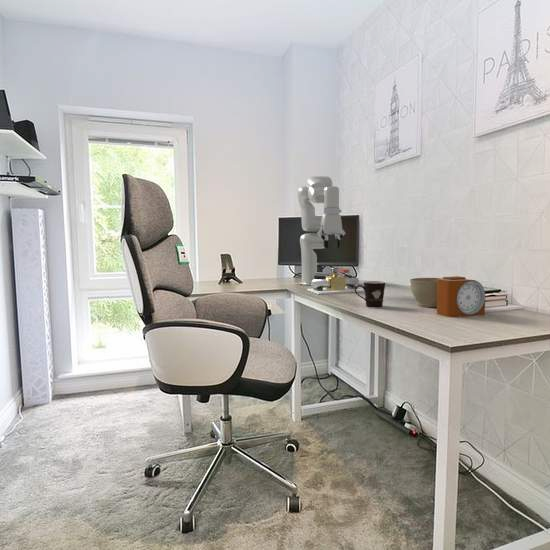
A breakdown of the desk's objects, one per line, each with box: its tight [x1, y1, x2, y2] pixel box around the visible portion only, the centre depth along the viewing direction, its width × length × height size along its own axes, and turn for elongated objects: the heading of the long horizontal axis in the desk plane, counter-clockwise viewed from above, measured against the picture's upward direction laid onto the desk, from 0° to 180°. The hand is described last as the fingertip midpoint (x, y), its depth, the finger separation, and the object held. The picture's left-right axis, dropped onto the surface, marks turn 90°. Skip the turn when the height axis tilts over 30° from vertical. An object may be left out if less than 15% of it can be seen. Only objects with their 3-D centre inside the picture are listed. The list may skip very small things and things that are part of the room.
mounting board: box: [306, 286, 365, 295], centre depth 203 cm, size 16×27×1 cm, turn 107°
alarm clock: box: [436, 275, 486, 318], centre depth 137 cm, size 15×8×14 cm, turn 105°
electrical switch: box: [314, 271, 331, 280], centre depth 216 cm, size 9×5×9 cm, turn 57°
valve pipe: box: [310, 271, 360, 291], centre depth 203 cm, size 7×26×10 cm, turn 107°
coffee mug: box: [354, 280, 386, 308], centre depth 156 cm, size 12×9×10 cm
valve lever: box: [331, 267, 350, 274], centre depth 198 cm, size 15×4×2 cm, turn 17°
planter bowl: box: [409, 277, 441, 308], centre depth 154 cm, size 16×16×11 cm
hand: (331, 247), depth 191 cm, fingers open, 5 cm apart
